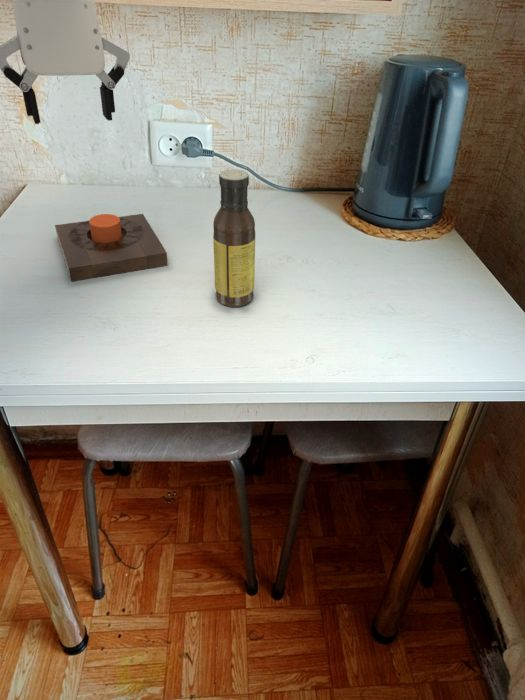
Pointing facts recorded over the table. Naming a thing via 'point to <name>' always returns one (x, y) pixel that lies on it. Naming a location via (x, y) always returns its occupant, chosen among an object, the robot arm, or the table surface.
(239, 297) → the sauce bottle
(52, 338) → the table surface
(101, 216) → the orange cylinder
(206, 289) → the table surface
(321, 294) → the table surface
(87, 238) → the back board
